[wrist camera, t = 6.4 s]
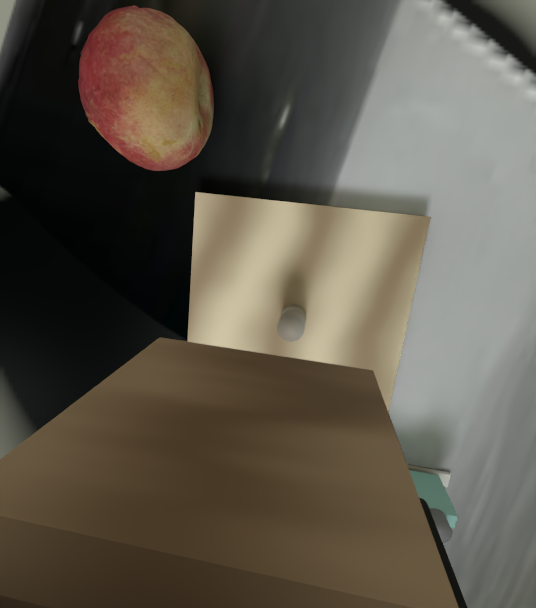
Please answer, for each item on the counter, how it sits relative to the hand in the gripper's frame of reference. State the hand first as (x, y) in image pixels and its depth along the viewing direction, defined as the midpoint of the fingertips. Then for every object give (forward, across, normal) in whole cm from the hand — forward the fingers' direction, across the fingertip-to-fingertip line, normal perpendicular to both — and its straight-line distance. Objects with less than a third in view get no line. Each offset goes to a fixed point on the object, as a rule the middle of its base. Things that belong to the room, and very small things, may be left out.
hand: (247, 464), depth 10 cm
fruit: (+18, +10, -13) cm, 24 cm away
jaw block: (+1, 0, 0) cm, 1 cm away
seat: (+18, -3, +3) cm, 18 cm away
